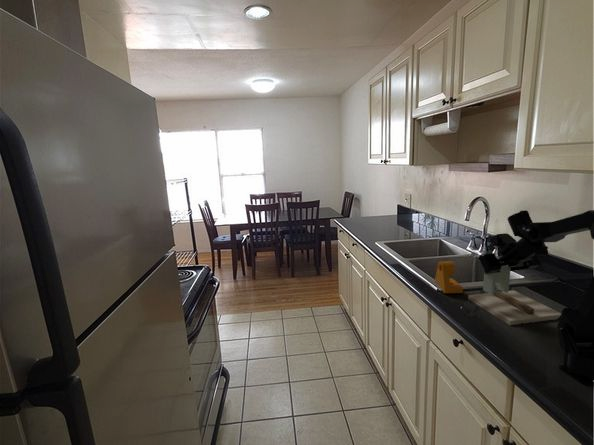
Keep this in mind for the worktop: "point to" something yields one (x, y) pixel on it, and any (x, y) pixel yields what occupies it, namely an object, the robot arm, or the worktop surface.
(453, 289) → the bracket
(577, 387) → the worktop surface
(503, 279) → the grey-green notched block
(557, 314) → the cleat board
